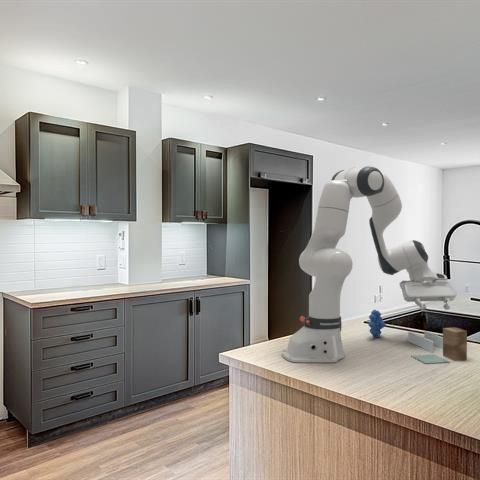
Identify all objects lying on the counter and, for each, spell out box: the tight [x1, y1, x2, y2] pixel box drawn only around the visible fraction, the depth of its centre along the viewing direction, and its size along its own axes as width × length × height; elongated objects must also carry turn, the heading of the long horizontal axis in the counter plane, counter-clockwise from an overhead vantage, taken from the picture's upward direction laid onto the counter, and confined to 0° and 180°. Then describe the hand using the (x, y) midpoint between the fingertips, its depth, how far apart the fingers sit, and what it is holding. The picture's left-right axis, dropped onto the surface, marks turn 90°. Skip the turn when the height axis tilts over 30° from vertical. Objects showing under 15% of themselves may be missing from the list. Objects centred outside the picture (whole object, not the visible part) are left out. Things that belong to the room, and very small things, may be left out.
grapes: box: [368, 309, 387, 339], centre depth 182 cm, size 12×7×12 cm, turn 143°
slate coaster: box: [410, 353, 451, 365], centre depth 151 cm, size 9×9×1 cm
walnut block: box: [442, 327, 468, 362], centre depth 153 cm, size 5×6×10 cm
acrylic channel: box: [407, 330, 443, 353], centre depth 169 cm, size 8×16×4 cm, turn 9°
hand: (435, 309), depth 165 cm, fingers open, 8 cm apart
